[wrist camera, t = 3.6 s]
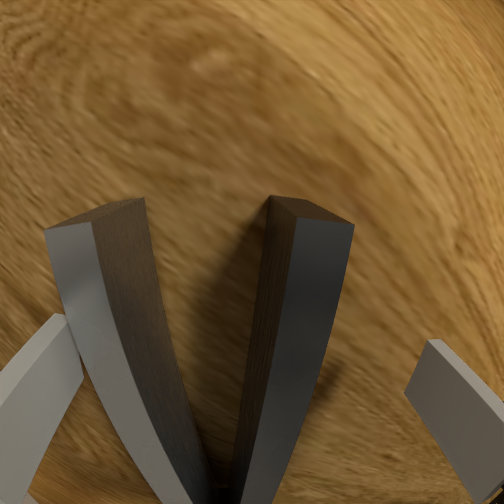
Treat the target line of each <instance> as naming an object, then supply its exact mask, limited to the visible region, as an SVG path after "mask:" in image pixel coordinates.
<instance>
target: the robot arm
mask: <svg viewBox="0 0 504 504" xmlns="http://www.w3.org/2000/svg"><path fill="white" fill-rule="evenodd" d="M83 379H84V376H83V371H82V367H81V362H80V357H79V352H78V347H77V345H76V342H75V339H74V337H73V334H72V331H71V328H70V325H69V323H68V320H67V317H66V315H62V314H57V313H54V314H53V315H52V316H51V318H50V319H49V320H48V321H47V322H46V323H45V324H44V325H43V326H42V327H41V328H40V329H39V330H38V331H37V332H36V333H35V334H34V335H33V336H32V337H31V338H30V340H29V341H28V342H27V343H26V344H25V345H24V346H23V347H22V348H21V349H20V350H19V352H18V353H17V354H16V355H15V356H14V357H13V358H12V359H11V361H10V362H9V363H8V364H7V365H6V366H5V367H4V369H3V370H2V371H1V372H0V504H22V503H23V500H24V498H25V496H26V493H27V491H28V489H29V486H30V484H31V482H32V480H33V477H34V475H35V473H36V471H37V468H38V466H39V464H40V462H41V460H42V458H43V456H44V454H45V451H46V449H47V447H48V445H49V443H50V441H51V439H52V437H53V435H54V433H55V431H56V429H57V427H58V425H59V423H60V421H61V420H62V418H63V416H64V414H65V412H66V410H67V408H68V406H69V404H70V403H71V401H72V399H73V397H74V395H75V393H76V392H77V390H78V388H79V386H80V384H81V383H82V381H83ZM404 394H405V395H406V397H407V398H408V400H409V401H410V403H411V404H412V406H413V407H414V409H415V410H416V412H417V413H418V415H419V416H420V417H421V419H422V420H423V422H424V424H425V425H426V427H427V428H428V430H429V431H430V433H431V434H432V436H433V437H434V439H435V440H436V442H437V443H438V445H439V446H440V448H441V450H442V451H443V453H444V454H445V456H446V457H447V459H448V460H449V462H450V464H451V465H452V467H453V468H454V470H455V472H456V473H457V475H458V476H459V478H460V480H461V481H462V483H463V485H464V486H465V488H466V489H467V491H468V493H469V494H470V496H471V498H472V499H473V501H474V503H475V504H480V503H482V502H484V501H485V500H487V499H489V498H490V497H491V496H492V495H493V494H494V493H495V492H497V491H498V490H499V489H500V487H502V489H503V491H502V492H501V493H500V494H499V495H498V496H497V497H496V498H495V499H494V500H492V501H491V502H490V503H489V504H496V503H498V504H504V402H503V401H502V400H500V398H499V397H498V396H497V395H496V394H495V393H494V392H493V391H492V390H491V389H490V388H489V387H488V386H487V385H486V384H485V383H484V382H483V381H482V380H481V379H480V378H479V377H478V376H477V375H476V374H475V373H474V371H473V370H472V369H471V368H470V367H469V366H468V365H467V364H466V363H465V362H464V361H463V360H462V359H460V358H459V357H458V356H457V355H456V354H455V353H454V352H453V351H452V350H451V349H450V348H449V347H448V346H447V345H446V344H445V343H444V342H443V341H442V340H441V339H434V340H427V342H426V344H425V347H424V349H423V352H422V354H421V356H420V359H419V361H418V363H417V366H416V368H415V370H414V373H413V375H412V377H411V379H410V381H409V383H408V386H407V388H406V390H405V392H404Z"/></svg>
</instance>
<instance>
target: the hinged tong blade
mask: <svg viewBox="0 0 504 504" xmlns="http://www.w3.org/2000/svg"><path fill="white" fill-rule="evenodd" d="M44 234H45V239H46V244H47V248H48V253H49V257H50V261H51V265H52V269H53V273H54V277H55V280H56V284H57V288H58V291H59V294H60V298H61V301H62V304H63V307H64V311H65V314H66V317H67V320H68V323H69V325H70V328H71V331H72V334H73V337H74V339H75V342H76V345H77V347H78V350H79V352H80V355H81V357H82V360H83V362H84V365H85V367H86V370H87V372H88V374H89V376H90V379H91V381H92V383H93V385H94V388H95V390H96V392H97V394H98V396H99V398H100V400H101V402H102V404H103V406H104V408H105V410H106V412H107V414H108V416H109V418H110V420H111V422H112V424H113V426H114V428H115V430H116V431H117V433H118V435H119V437H120V439H121V440H122V442H123V444H124V445H125V447H126V449H127V451H128V452H129V454H130V456H131V457H132V459H133V460H134V462H135V464H136V465H137V467H138V468H139V470H140V472H141V473H142V475H143V476H144V478H145V479H146V481H147V482H148V484H149V485H150V487H151V488H152V489H153V491H154V492H155V494H156V495H157V496H158V498H159V499H160V501H161V502H162V503H163V504H218V487H217V484H216V481H215V479H214V476H213V474H212V471H211V468H210V465H209V463H208V460H207V457H206V454H205V452H204V449H203V446H202V443H201V440H200V437H199V434H198V431H197V428H196V425H195V422H194V419H193V415H192V412H191V409H190V406H189V402H188V399H187V396H186V392H185V389H184V385H183V382H182V378H181V375H180V371H179V367H178V364H177V360H176V356H175V352H174V348H173V344H172V340H171V336H170V332H169V328H168V324H167V319H166V315H165V310H164V306H163V301H162V297H161V292H160V287H159V282H158V277H157V272H156V267H155V261H154V256H153V250H152V244H151V238H150V232H149V226H148V219H147V213H146V206H145V199H144V197H142V198H135V199H129V200H123V201H116V202H110V203H108V204H105V205H102V206H100V207H97V208H95V209H92V210H90V211H87V212H85V213H82V214H80V215H77V216H75V217H73V218H70V219H68V220H65V221H63V222H61V223H58V224H56V225H54V226H52V227H49V228H47V229H45V230H44Z"/></svg>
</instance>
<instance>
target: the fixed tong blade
mask: <svg viewBox="0 0 504 504" xmlns="http://www.w3.org/2000/svg"><path fill="white" fill-rule="evenodd" d="M354 226H355V225H354V224H352V223H350V222H349V221H347V220H345V219H343V218H341V217H339V216H337V215H335V214H333V213H332V212H330V211H328V210H326V209H324V208H322V207H320V206H318V205H316V204H314V203H312V202H310V201H308V200H304V199H297V198H290V197H282V196H274V195H270V199H269V207H268V214H267V222H266V229H265V237H264V244H263V251H262V259H261V266H260V273H259V281H258V288H257V295H256V302H255V309H254V316H253V323H252V330H251V337H250V344H249V351H248V358H247V365H246V372H245V379H244V385H243V392H242V399H241V406H240V412H239V419H238V426H237V432H236V439H235V445H234V452H233V458H232V465H231V471H230V477H229V484H228V488H219V489H218V504H271V503H272V501H273V499H274V496H275V494H276V492H277V489H278V487H279V485H280V482H281V480H282V477H283V475H284V472H285V470H286V467H287V465H288V462H289V460H290V457H291V454H292V452H293V449H294V446H295V444H296V441H297V438H298V436H299V433H300V430H301V427H302V424H303V421H304V418H305V416H306V413H307V410H308V407H309V404H310V401H311V397H312V394H313V391H314V388H315V385H316V382H317V378H318V375H319V372H320V368H321V365H322V362H323V358H324V355H325V351H326V348H327V344H328V340H329V337H330V333H331V329H332V325H333V321H334V318H335V314H336V310H337V306H338V301H339V297H340V293H341V289H342V284H343V280H344V276H345V271H346V266H347V262H348V257H349V252H350V247H351V242H352V237H353V232H354Z"/></svg>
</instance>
